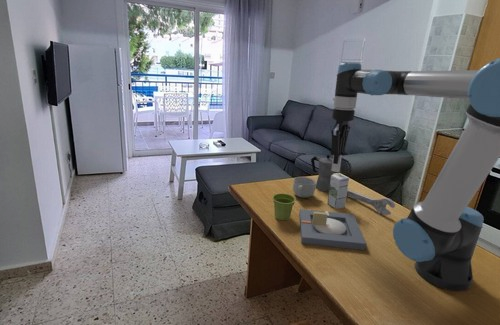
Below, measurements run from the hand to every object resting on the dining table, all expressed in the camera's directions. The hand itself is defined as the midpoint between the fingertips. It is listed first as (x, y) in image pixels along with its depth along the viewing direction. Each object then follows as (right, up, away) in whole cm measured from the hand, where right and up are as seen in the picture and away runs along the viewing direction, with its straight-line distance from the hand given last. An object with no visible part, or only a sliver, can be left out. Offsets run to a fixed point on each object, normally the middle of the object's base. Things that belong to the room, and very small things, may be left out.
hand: (335, 171), depth 114 cm
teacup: (-7, -13, +31) cm, 35 cm away
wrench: (+20, -17, +25) cm, 36 cm away
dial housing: (-2, -23, +2) cm, 23 cm away
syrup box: (+7, -17, +23) cm, 29 cm away
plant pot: (-19, -20, +10) cm, 29 cm away
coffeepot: (+5, -10, +43) cm, 45 cm away
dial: (-2, -22, +1) cm, 22 cm away
